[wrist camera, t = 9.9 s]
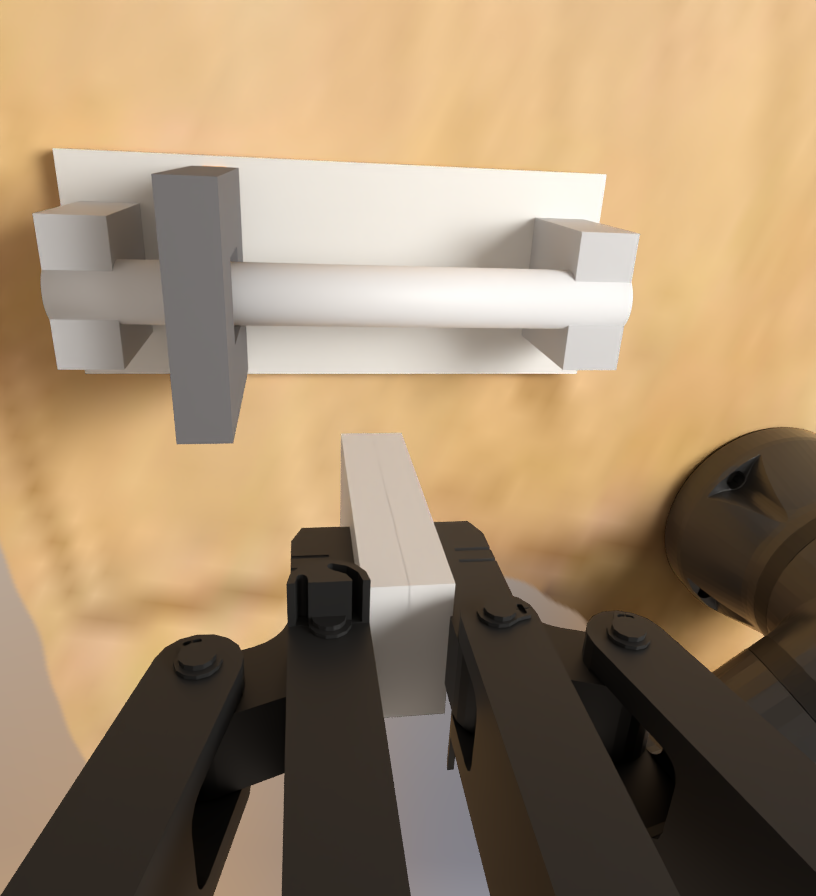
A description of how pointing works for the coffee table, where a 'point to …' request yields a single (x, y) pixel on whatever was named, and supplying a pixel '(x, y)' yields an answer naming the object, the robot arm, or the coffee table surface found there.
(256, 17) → the coffee table surface
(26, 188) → the coffee table surface
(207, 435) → the collar
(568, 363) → the pipe stand
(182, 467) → the coffee table surface
